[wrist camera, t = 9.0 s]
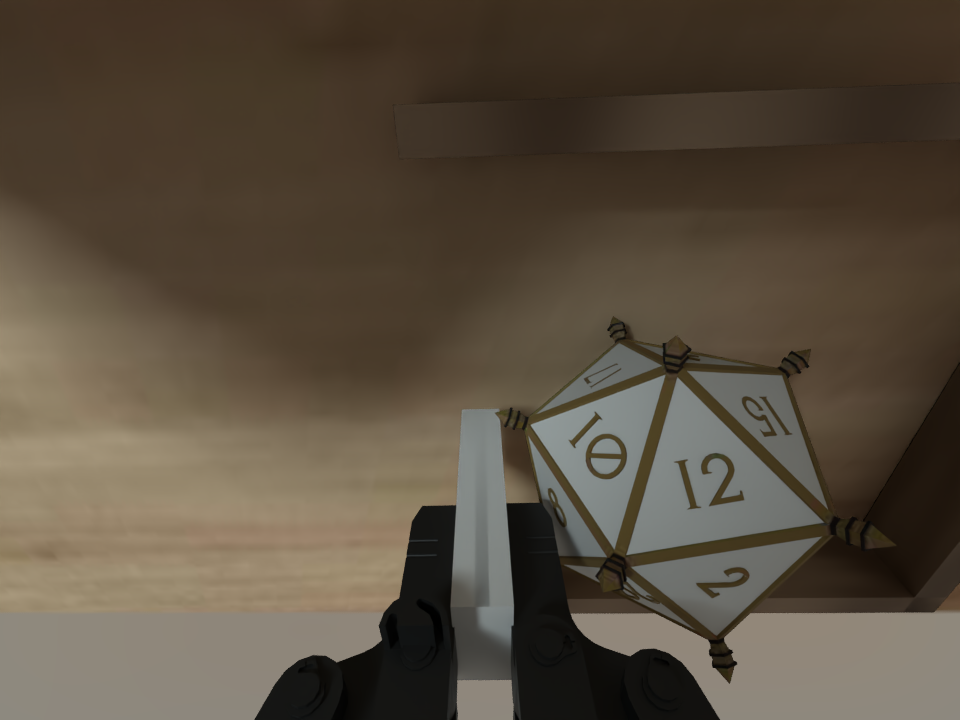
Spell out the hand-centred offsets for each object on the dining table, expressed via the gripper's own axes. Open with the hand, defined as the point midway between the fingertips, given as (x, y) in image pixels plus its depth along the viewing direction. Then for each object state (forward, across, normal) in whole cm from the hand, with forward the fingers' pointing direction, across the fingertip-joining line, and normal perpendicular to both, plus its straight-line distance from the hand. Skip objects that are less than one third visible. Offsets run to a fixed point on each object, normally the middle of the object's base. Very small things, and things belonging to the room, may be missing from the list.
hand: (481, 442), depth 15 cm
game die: (+2, +5, +1) cm, 5 cm away
